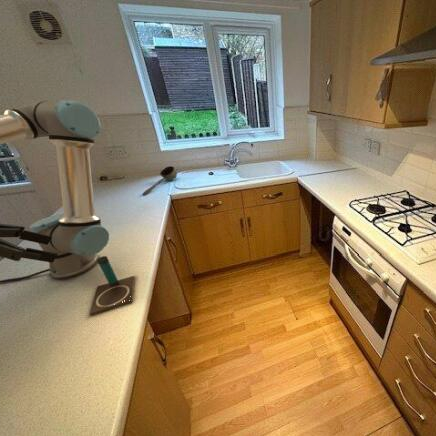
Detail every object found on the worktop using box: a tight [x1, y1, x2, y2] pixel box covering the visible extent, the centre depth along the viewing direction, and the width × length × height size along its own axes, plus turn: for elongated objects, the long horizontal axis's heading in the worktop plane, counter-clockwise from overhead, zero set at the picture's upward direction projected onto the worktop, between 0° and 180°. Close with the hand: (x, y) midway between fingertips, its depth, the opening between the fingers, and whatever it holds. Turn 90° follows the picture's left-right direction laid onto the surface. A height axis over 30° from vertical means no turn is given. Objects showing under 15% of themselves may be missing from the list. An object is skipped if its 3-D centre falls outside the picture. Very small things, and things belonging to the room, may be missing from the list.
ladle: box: [142, 165, 178, 196], centre depth 184 cm, size 12×38×10 cm, turn 171°
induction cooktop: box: [89, 275, 136, 316], centre depth 86 cm, size 12×14×1 cm
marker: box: [97, 255, 119, 287], centre depth 87 cm, size 3×3×12 cm
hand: (52, 248), depth 73 cm, fingers open, 13 cm apart
